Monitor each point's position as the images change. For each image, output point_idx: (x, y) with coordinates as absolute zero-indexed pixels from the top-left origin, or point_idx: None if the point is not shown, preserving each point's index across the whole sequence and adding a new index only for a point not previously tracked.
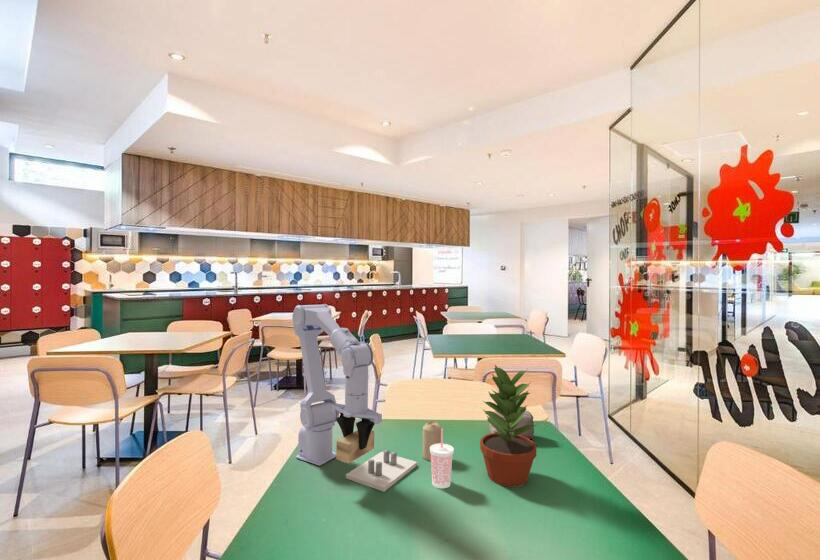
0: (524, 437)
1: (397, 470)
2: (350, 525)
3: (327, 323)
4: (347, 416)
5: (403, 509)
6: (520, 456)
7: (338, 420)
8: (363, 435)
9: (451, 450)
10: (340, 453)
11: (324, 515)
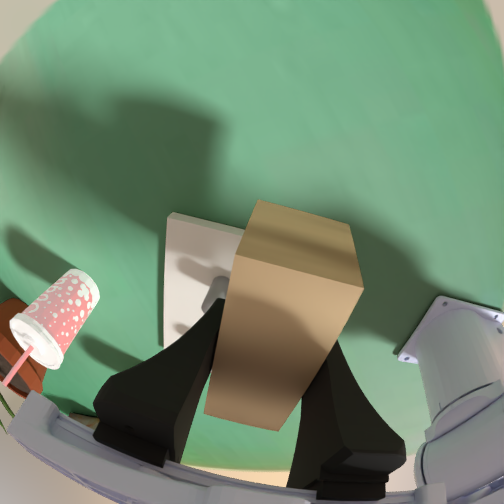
0: (2, 381)
1: (183, 314)
2: (181, 12)
3: None
4: (236, 496)
5: (88, 150)
6: None
7: (386, 447)
8: (166, 350)
9: (18, 337)
10: (321, 235)
11: (290, 19)
